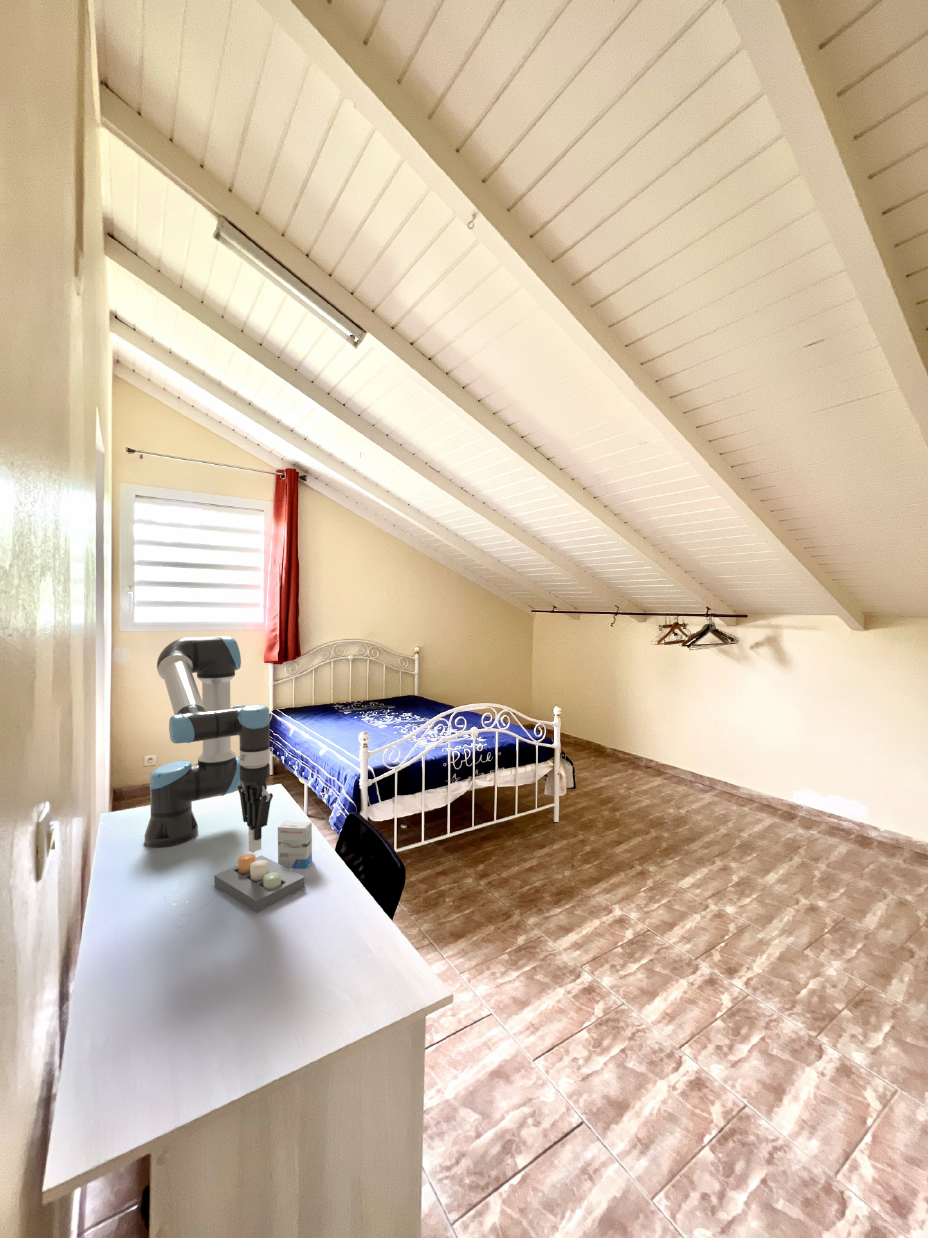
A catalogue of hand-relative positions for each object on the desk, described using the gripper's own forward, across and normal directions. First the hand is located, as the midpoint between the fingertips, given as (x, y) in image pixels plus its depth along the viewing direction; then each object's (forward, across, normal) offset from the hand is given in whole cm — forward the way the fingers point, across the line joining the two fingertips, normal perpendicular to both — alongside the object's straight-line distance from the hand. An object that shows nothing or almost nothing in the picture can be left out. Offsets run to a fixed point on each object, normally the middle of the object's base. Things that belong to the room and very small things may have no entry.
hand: (255, 850), depth 141 cm
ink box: (+10, 0, +13) cm, 16 cm away
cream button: (+7, +2, 0) cm, 7 cm away
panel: (+9, +2, 0) cm, 10 cm away
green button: (+8, +9, 0) cm, 12 cm away
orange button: (+7, -4, 0) cm, 8 cm away
